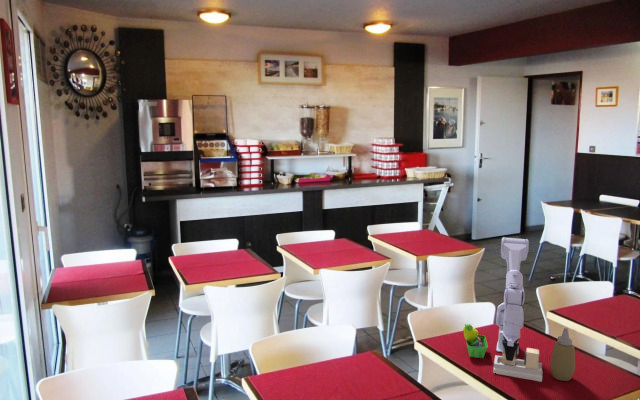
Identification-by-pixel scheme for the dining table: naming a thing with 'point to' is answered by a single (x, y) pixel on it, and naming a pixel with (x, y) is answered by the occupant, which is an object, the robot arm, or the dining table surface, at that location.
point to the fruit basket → (475, 342)
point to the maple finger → (508, 360)
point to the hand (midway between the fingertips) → (509, 357)
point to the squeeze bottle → (563, 358)
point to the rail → (521, 366)
